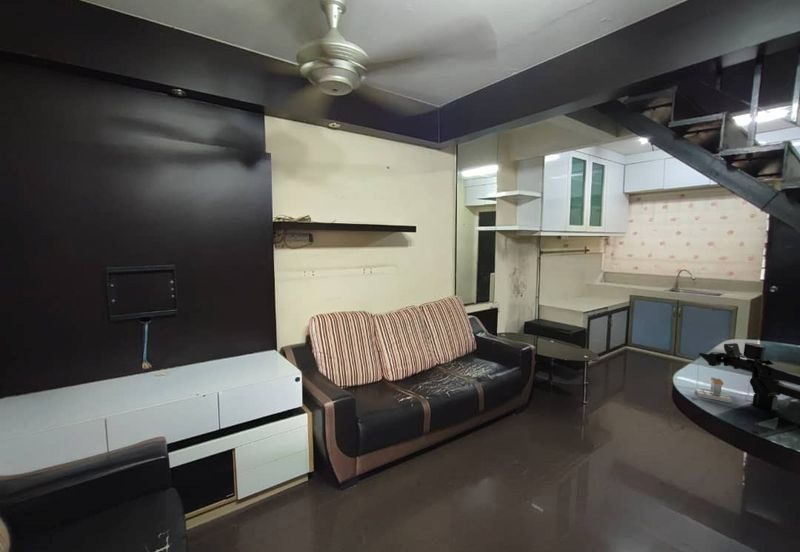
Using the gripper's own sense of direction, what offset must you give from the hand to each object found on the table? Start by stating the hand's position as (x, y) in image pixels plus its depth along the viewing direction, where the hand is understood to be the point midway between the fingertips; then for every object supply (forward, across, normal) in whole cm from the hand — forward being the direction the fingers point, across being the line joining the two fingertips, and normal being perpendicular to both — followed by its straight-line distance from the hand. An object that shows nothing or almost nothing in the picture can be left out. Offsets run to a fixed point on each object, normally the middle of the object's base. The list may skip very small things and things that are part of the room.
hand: (705, 353), depth 178 cm
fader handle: (-13, +12, +15) cm, 23 cm away
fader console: (-13, +12, +16) cm, 24 cm away
